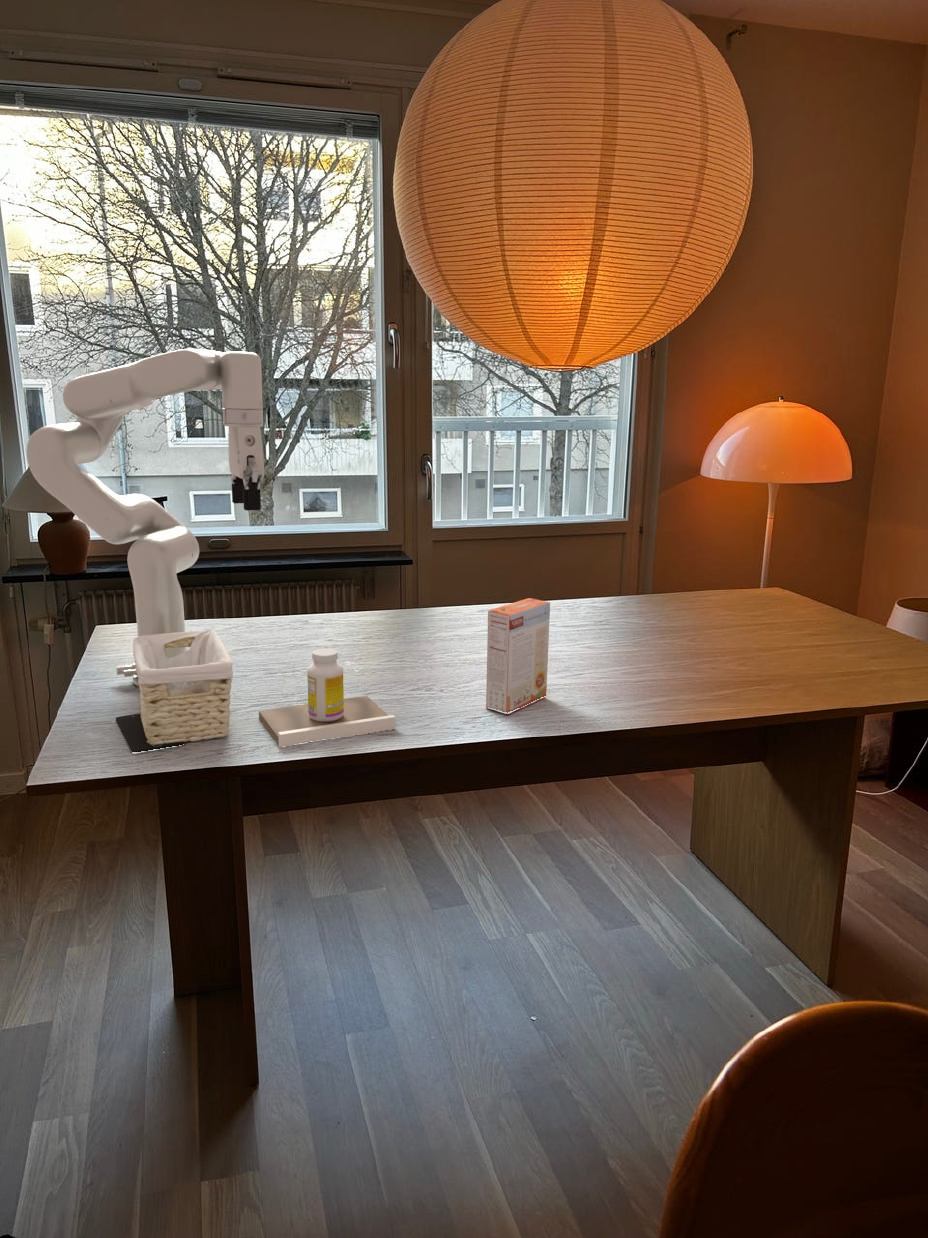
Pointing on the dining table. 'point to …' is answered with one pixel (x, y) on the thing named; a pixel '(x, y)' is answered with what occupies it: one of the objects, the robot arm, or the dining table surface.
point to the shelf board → (300, 719)
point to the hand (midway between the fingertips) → (246, 506)
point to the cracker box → (517, 654)
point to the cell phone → (138, 734)
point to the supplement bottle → (325, 686)
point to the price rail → (337, 730)
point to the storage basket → (183, 686)
